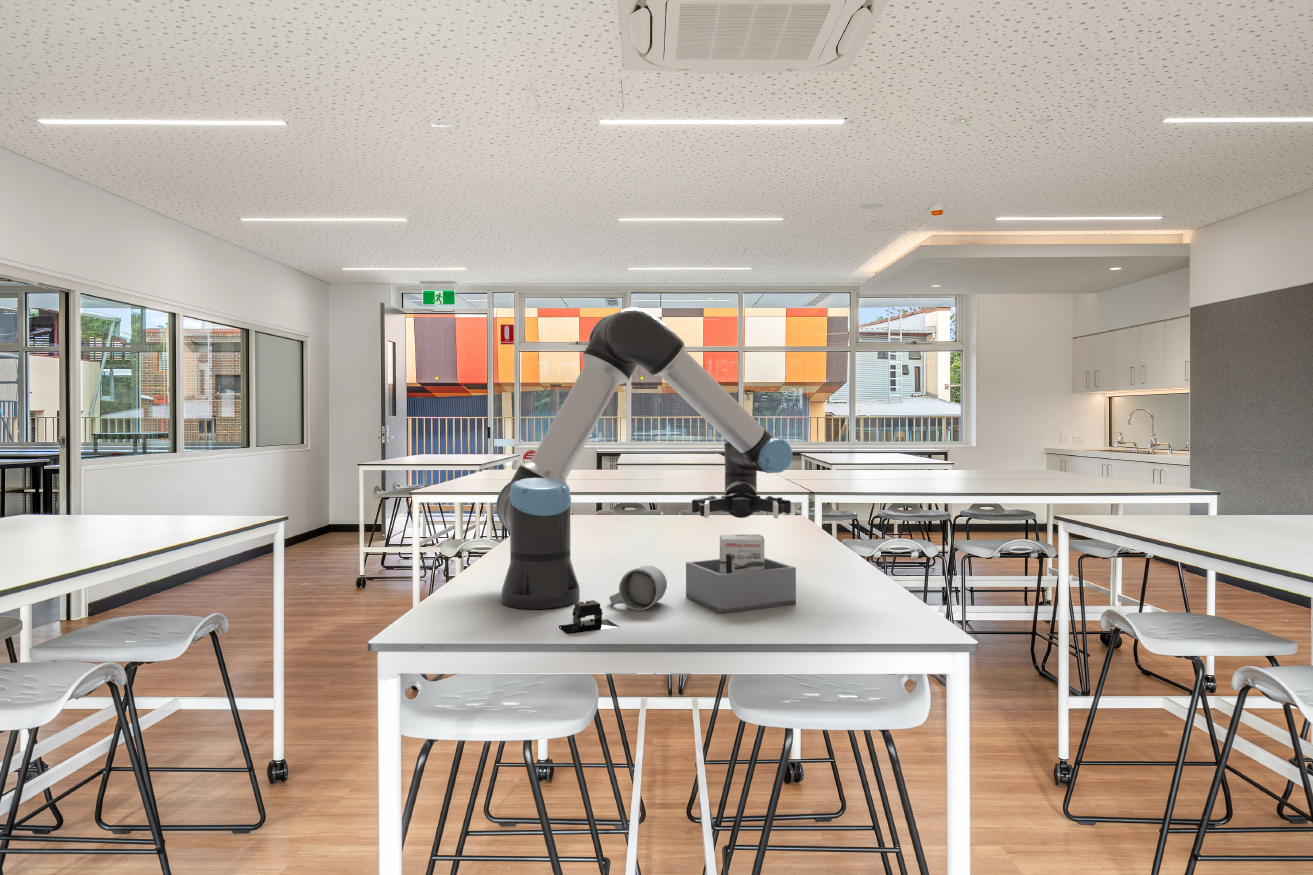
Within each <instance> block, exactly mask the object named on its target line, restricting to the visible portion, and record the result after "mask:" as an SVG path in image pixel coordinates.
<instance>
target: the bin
mask: <svg viewBox="0 0 1313 875" xmlns="http://www.w3.org/2000/svg"><path fill="white" fill-rule="evenodd" d="M719 571H720V558H718V559H715V558H714V559H709V560H708V559H706V560H697V561H695V560H694V561H685V598H687V599H689V600H690V599H691V601H692V600H693V602H695V603H697V604H699V605H701V606H703V607H705V608H707V609H709V610H711V611H713V612H715V613H717V614H719V615H721V614H729V613H738V612H744V611H745V612H746V611H753V610H761V609H769V608H775V607H776V608H777V607H784V606H792V605H796V603H797V601H796V600H797V574H796V573H797V567H795V566H792V565H789V564H785V563H783V562H779V561H777V560H773V559H769V558H766V557H764V570H757V571H747V572H738V573H728V574H720V573H719Z"/></svg>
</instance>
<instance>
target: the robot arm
mask: <svg viewBox="0 0 1313 875" xmlns="http://www.w3.org/2000/svg"><path fill="white" fill-rule="evenodd" d="M685 344H686V343H685V342H684V341H683V340H682V339H681V338H680V337H679V336H678V334H676V332H674V331H673V330H672V328H670V327H669V325H667V323H665V322H664V321H663V320H661V319H660V318H659V317H658V316H656V315H655V314H654V313H652V312H650V311H649V310H646V309H644V308H641V307H627V308H624V309H621V310H619V311H618V312H615V313H613V314H609V315H606V316H604V317H603V318H601V319H600V320H599V321H598V322H597V323H596V324H595V325H594V327H593V328H592V330H591V332H590V334H589V339H588V345H587V346H586V348H585V350H584V352H583V354H582V355H581V359H582V362H583V368H582V370H581V371H580V373H579V375H578V377H577V378H576V380H575V382H574V384H573V385H572V387H571V389H570V391H569V392H568V394H567V396H566V397H565V399H564V400H563V403H562V404H561V407H560V409H559V410H558V412H557V414H556V415H555V417H554V419H553V421H552V423H551V424H550V426H549V427H548V430H547V431H546V433H545V435H544V436H543V438H542V440H541V442H540V443H539V446H538V448H537V449H536V451H535V452H534V454H533V456H532V457H531V460H529V461H527V462H524V463H521V464H520V465H519V466H518V468H517V470H516V472H515V473H514V475H513V477H512V478H511V480H510V482H507V484H506V485H505V486H504V487H503V488H502V489H501V490H500V492H499V494H498V497H497V499H496V504H495V505H496V507H495V508H496V515H497V516H498V520H499V521H500V523H501V525H502V527H504V528H505V530H507V531H508V532H510V533H509V537H510V538H509V540H510V541H509V544H510V546H509V547H510V548H509V549H510V552H509V553H510V560H509V561H510V562H509V565H508V569H507V572H506V575H505V579H504V581H503V585H502V588H501V603H502V605H505V606H506V607H507V606H508V607H509V608H510V607H511V608H514V609H515V608H516V609H524V610H544V609H545V610H546V609H554V608H559V607H561V608H562V607H565V606H569V605H572V604H575V602H579V600H580V598H581V596H580V594H581V593H580V584H579V581H578V579H577V576H576V575H577V574H576V573H575V569H574V566H573V563H572V559H571V504H572V497H571V491H570V486H569V485H568V484H567V478H568V476H569V475H570V473H571V471H572V469H573V468H574V466H575V463H576V462H577V460H578V459H579V457H580V455H581V453H582V451H583V450H584V448H585V446H586V444H587V442H588V440H589V439H590V437H591V435H592V434H593V431H594V430H595V428H596V426H597V424H598V422H599V420H600V419H601V418H602V415H603V413H604V412H605V409H606V408H607V406H608V404H609V402H610V401H611V399H612V397H613V395H614V393H615V391H616V390H617V388H618V386H620V385H623V384H627V383H628V382H629V380H631V377H632V375H633V373H634V371H635V370H636V367H637V366H639V367H642V368H643V369H645V370H646V371H647V372H648V373H649V374H650V375H651V376H652V377H660V378H661V379H662V380H663V381H664V382H666V383H667V384H668V385H669V386H670V388H672V389H673V391H675V393H677V394H678V395H679V396H680V397H681V398H682V399H683V400H685V402H687V404H688V405H690V406H691V407H692V408H693V409H694V410H695V411H696V412H697V413H698V414H699V415H700V416H701V417H702V418H703V419H704V420H705V421H706V422H707V423H708V424H710V426H712V428H714V429H715V430H716V432H718V433H719V435H721V436H722V437H723V438H724V443H723V447H724V471H725V473H724V495H721V497H719V498H717V496H714V495H708V496H707V497H700V498H698V499H697V498H696V499H691V512H692V513H698V512H700V517H703V518H704V519H706V518H707V519H708V518H709V516H710V513H712V512H718V511H719V512H720V511H721V512H724V513H728V514H730V516H732V517H734V518H736V519H737V518H739V519H744V518H749V517H751V516H752V515H754V513H761V512H767V513H772V516H773V518H774V519H779V515H780V514H788V515H789V514H791V513H792V501H791V500H789V499H784V498H783V497H774V496H771V495H768V496H766V497H765V498H761V496H760V495H758V492H757V491H758V490H757V487H758V486H757V483H758V482H757V480H758V477H757V476H758V475H757V474H758V472H762V473H766V474H776V473H777V474H778V473H782V472H784V471H786V470H787V469H788V468H789V467H790V466H791V463H792V461H793V449H792V447H791V445H790V444H789V442H787V441H786V440H784V439H781V438H779V437H774V436H773V435H772V434H770V432H768V430H766V429H765V428H764V427H763V426H762V425H761V424H760V423H759V421H757V420H756V419H755V418H754V417H753V416H752V415H751V414H750V413H749V412H748V411H747V410H746V409H745V408H744V407H743V406H742V405H741V404H740V403H739V402H738V401H737V400H736V399H735V398H734V397H733V396H732V395H731V394H730V393H729V392H728V391H727V390H726V389H725V388H724V387H723V386H722V385H721V384H720V383H719V382H717V380H716V379H715V378H714V377H713V376H712V375H711V374H710V373H708V371H707V370H706V369H705V368H704V367H703V366H702V365H701V364H699V362H698V361H696V359H695V358H694V357H693V356H691V355H690V353H689V352H688V351H686V345H685Z"/></svg>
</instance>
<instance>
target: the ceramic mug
mask: <svg viewBox="0 0 1313 875" xmlns="http://www.w3.org/2000/svg"><path fill="white" fill-rule="evenodd" d="M618 586H619V587H618V592H616V593H615V594H612V595H611V596H609V597H608V598H609V600H610V604H611V605H615V604H618V603H620V602H623V604H624V605H625V606H626V607H627V608H628V609H630V610H634V611H637V610H639V611H638V612H641V611H646V610H648V609H650V608H651V607H653V606H654V605H655V604H657V602H659V601H660V600H661V599H662V598H663V597H664V596H665V593H666V590H667V588H668V582H667V578H666V576H665V574H664V573H663V571H662V570H661V569H659V568H658V567H656V566H653V565H643V566H639V567H638V568H634V569H631V570H629V571H628V572H626V573H625V574H624V575H623V577H622V578H621V580H620V582H619V585H618Z"/></svg>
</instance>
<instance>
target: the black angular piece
mask: <svg viewBox="0 0 1313 875" xmlns="http://www.w3.org/2000/svg"><path fill="white" fill-rule="evenodd" d="M603 614H604V613H603V609H602V608H601V603H599V602H598V601H597V600H595V599H594V600H592V599H591V600H586V601H585V602H584V601H577V602H575V603H574V607H573V608H572V619H573V620H572V623H569V624H560V625H558V626H559V628H558V629H559V630H561V631H562V632H563V631H564V632H563V633H564V634H566V635H572V634H579V633H586V632H587V633H588V632H593V631H594V632H595V631H600V630H601V631H603V630H608V629H614V628H615V629H616V628H620V626H619V625H617V624H616V623H614V622H612V621H611V620H609V619H606V618H605V619H603ZM589 616H593V618H590V619H586V620H582V618H583V619H584V618H586V617H589ZM560 627H561V628H560Z"/></svg>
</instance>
